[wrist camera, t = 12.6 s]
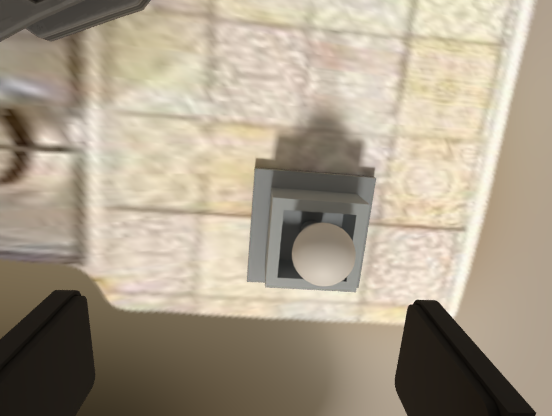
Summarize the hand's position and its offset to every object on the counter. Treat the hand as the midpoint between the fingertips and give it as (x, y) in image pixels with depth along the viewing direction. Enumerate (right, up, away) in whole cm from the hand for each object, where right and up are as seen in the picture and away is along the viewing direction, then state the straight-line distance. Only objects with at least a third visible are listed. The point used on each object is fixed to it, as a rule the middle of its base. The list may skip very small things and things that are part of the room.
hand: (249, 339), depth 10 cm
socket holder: (+5, +1, +33) cm, 33 cm away
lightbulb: (+5, +1, +32) cm, 32 cm away
